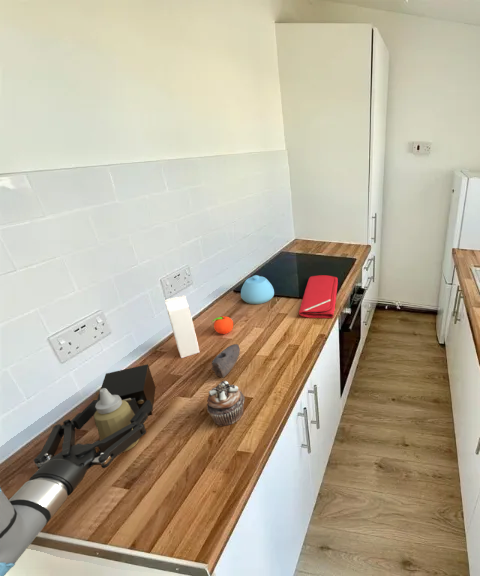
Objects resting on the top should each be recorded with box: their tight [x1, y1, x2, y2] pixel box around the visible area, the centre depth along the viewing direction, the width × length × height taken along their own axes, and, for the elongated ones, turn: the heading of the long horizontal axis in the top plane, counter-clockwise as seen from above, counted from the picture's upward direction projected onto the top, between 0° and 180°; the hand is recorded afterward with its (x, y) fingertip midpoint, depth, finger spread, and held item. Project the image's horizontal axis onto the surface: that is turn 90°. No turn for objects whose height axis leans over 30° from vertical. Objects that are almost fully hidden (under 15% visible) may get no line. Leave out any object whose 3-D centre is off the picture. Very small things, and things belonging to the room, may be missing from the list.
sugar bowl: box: [240, 274, 275, 305], centre depth 153 cm, size 15×15×12 cm
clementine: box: [212, 315, 234, 335], centre depth 127 cm, size 8×7×7 cm
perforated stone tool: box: [211, 343, 241, 379], centre depth 109 cm, size 15×5×7 cm, turn 175°
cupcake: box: [206, 379, 246, 427], centre depth 90 cm, size 10×10×10 cm
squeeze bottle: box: [93, 388, 141, 453], centre depth 79 cm, size 8×8×18 cm
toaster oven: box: [96, 364, 157, 417], centre depth 91 cm, size 10×13×9 cm
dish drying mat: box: [298, 274, 339, 319], centre depth 159 cm, size 16×41×4 cm, turn 5°
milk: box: [164, 295, 201, 359], centre depth 112 cm, size 6×6×22 cm
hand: (123, 403), depth 82 cm, fingers open, 12 cm apart
